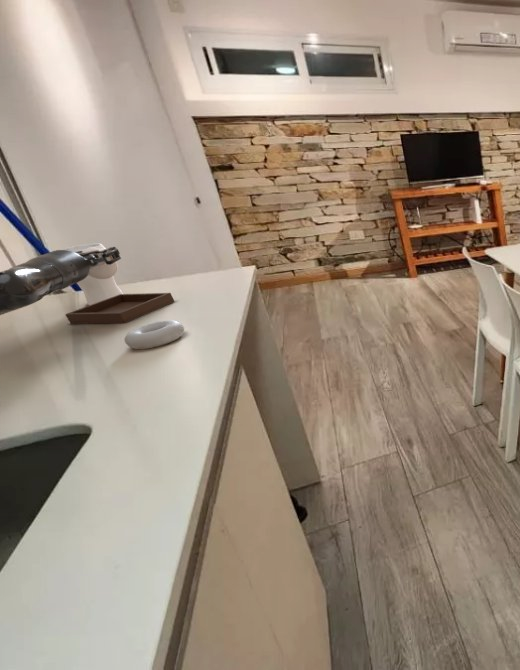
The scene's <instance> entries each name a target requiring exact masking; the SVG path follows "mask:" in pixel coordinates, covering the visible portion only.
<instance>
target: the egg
mask: <svg viewBox="0 0 520 670" xmlns="http://www.w3.org/2000/svg"><path fill="white" fill-rule="evenodd" d="M96 250H98V251H102V250H103V249H100V248H96V247H91V248H87V249H85V250H84V251H83V252H82V253H85V252H89V251H96ZM90 255H92V256H94V255H93V254H90ZM101 256H102V255H101ZM118 269H119V265H118V261H116V262H114V263H113V264H110V265H109V264H106V263H105V264H103V265H100V266H96V267H94V268H93V269H90V270H89V274H88V275H89V276H91V277H94V278H97V279H107V278H110V277H112V276H113V277H114V276H115V275H116V273H117V272H118Z"/></svg>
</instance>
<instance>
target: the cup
mask: <svg viewBox="0 0 520 670" xmlns="http://www.w3.org/2000/svg"><path fill="white" fill-rule="evenodd" d="M91 247H96V248H100V249H103V250H104V249H107V248H106V247H105V246H104V245H103V244H102V243H100V242H99V243H98V242H97V243H87V244H80V245H73V246H69V247H65V248H61V249H59V250H67V251H71V252H74V253H75V252H78V251H84V250H85V249H87V248H91ZM76 284H77V285H78V287H79V288H80V289H81V290H82V292H83V294H84V297H85V300H86V303H87V306H89V305H92V304H95V303H97V302H100V301H103V300H105V299H108V298H111V297H114V296H116V295H119V294H124V293H123V291H122V290H121V288H120V287H119V286H118V284H117V283H116V280H115V277H114V275H113V276H112V277H110V278H107V279H97V278H94V277H91V276H89V275H88V276H87V277H86V278H85V279H83V280H81V281H79V282H77V283H76Z"/></svg>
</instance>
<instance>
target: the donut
mask: <svg viewBox="0 0 520 670" xmlns="http://www.w3.org/2000/svg"><path fill="white" fill-rule="evenodd" d="M184 332H185V326H184V325H183V323H181V322H179V321H177V320H173V319H168V320H167V319H166V320H158V321H153V322H150V323H146V324H143V325H141V326H138V327H136V328H134V329H132V330H131V331H128V333H127V334H126V335H125V337H124V343H125V345H127V346H128V348H131V349H134V350H135V349H136V350H148V349H153V348H157V347H162V346H164V345H167V344H169V343H172V342H174V341H176V340H178V339H179V338H180V337H182V336H183V335H184Z"/></svg>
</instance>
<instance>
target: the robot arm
mask: <svg viewBox="0 0 520 670" xmlns="http://www.w3.org/2000/svg"><path fill="white" fill-rule="evenodd" d="M82 252H83V251H78V252H75V253H74V252H71V251H67V250H60V249H56V250H53V251H52V250H51V251H49V252H47V253H44V254H41V255H37V256H34V257H32V258H30V259H28V260H27V261H25V262H22V263H19V264H17V265H14V266H12V267H10V268H8V269H4V270H2V271H0V316H3V315H5V314H8V313H11V312H14V311H17V310H19V309H23V308H25V307H28V306H31V305H33V304H35V303H37V302H39V301H41V300H42V299H44V298H45V297H46V296H48V295H50V294H52V293H55V292H58V291H61V290H64V289H67V288H69V287H71V286H73V285H75V284H77V282H79V281H81V280H83V279H85V278H86V277H87V276H88V274H89V270H90V269H93V268H94V267H96V266H100V265H103V264H105V263H106V264H109V265H110V264H113V263H114V262H118V261H120V260H121V259H122V257H121V256H120V255H121V253H120V250H119V249H118V248H117V247H116V246H111V247H108V248H106V249H104V250H102V251H98V250H96V251H89V252H85V253H82ZM90 254H93V255H94V256H92V255H90ZM101 255H102V256H101Z"/></svg>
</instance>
